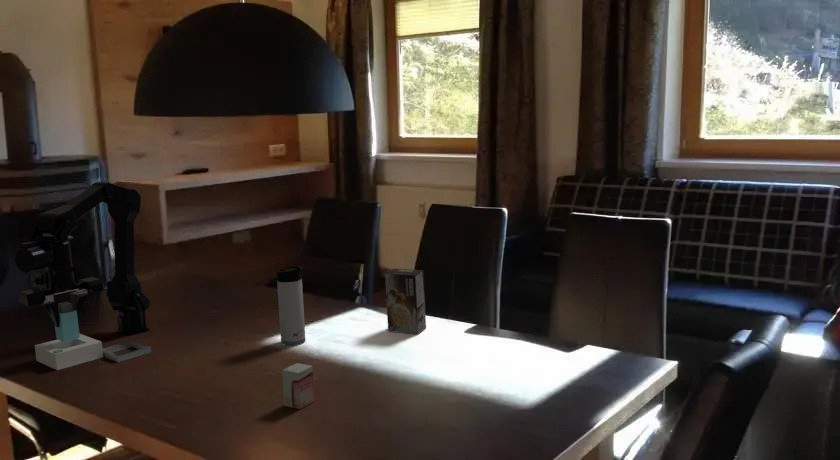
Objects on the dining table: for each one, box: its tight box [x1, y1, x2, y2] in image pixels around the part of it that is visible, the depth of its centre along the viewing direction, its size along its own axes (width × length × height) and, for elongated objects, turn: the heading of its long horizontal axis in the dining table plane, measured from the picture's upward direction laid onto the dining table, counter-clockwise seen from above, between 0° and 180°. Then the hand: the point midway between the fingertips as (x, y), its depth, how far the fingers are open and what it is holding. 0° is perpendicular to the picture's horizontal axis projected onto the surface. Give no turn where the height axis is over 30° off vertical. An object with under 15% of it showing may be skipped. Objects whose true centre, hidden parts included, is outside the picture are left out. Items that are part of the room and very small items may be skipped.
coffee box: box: [384, 268, 427, 335], centre depth 207 cm, size 9×6×16 cm
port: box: [34, 333, 104, 371], centre depth 193 cm, size 12×12×4 cm
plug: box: [54, 301, 80, 342], centre depth 192 cm, size 4×4×9 cm
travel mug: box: [276, 265, 306, 347], centre depth 199 cm, size 6×7×20 cm
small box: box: [281, 362, 315, 410], centre depth 160 cm, size 5×4×8 cm
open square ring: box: [102, 339, 152, 363], centre depth 196 cm, size 9×9×2 cm
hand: (66, 324), depth 192 cm, fingers closed on plug, 4 cm apart
